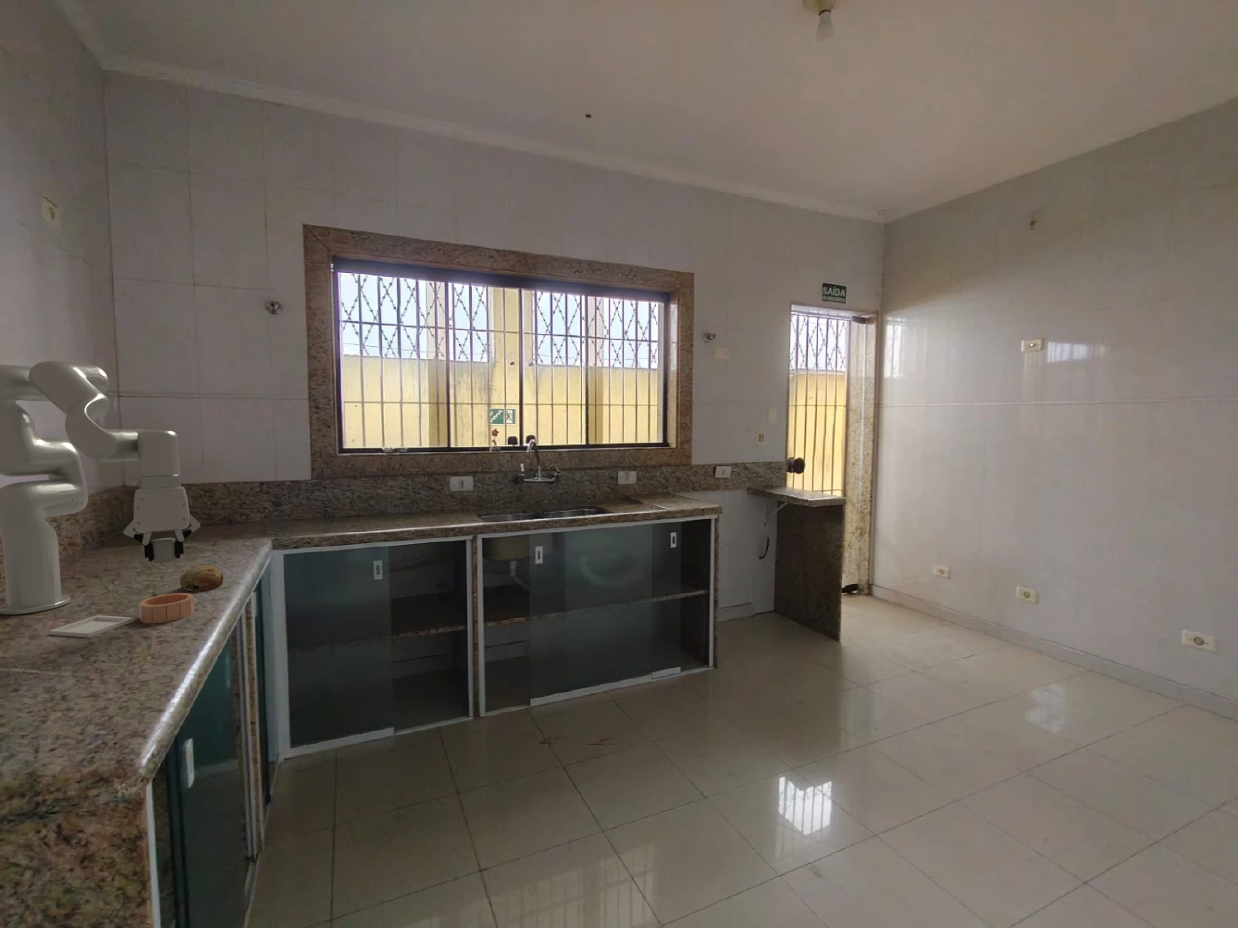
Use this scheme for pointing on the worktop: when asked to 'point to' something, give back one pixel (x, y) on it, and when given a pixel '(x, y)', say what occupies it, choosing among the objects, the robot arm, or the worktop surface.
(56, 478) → the robot arm
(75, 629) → the parts tray
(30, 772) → the worktop surface
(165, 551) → the grey cylinder
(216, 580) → the bread roll
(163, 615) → the bowl
